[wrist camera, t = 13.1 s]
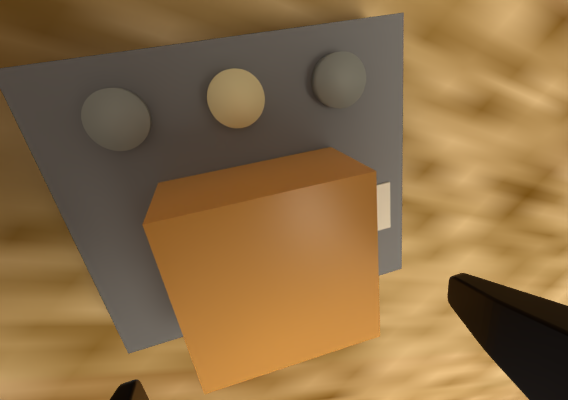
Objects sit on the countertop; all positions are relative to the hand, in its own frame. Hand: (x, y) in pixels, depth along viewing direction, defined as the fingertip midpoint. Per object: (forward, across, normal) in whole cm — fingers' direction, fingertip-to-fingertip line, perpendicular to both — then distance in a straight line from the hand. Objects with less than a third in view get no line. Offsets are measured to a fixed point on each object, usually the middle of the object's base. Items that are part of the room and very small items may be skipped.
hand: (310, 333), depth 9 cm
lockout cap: (+6, 0, 0) cm, 6 cm away
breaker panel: (+8, 0, -2) cm, 9 cm away
